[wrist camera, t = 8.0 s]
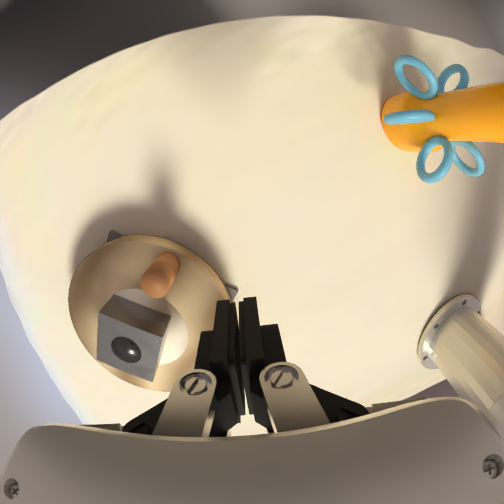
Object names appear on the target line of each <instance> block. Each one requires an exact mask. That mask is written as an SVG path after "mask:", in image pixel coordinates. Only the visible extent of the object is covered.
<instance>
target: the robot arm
mask: <svg viewBox="0 0 504 504" xmlns="http://www.w3.org/2000/svg"><path fill="white" fill-rule="evenodd" d="M243 300H244V301H241V302H239V325H238V319H237V312H236V305H235V302H232V303H230V299H228V300H218V301H217V303H216V311H215V319H214V326H213V330H210V331H201V334H200V339H199V344H198V350H197V355H196V361H195V366H194V370H190V371H187V372H185V373H183V374H181V375H180V376H179V377H178V378H177V380H176V381H175V383H174V386H173V388H172V390H171V392H170V395H169V397H168V398H167V399H166V400H164V401H163V402H161V403H159V404H158V405H156V406H154V407H153V408H151V409H149V410H148V411H146V412H144V413H143V414H141V415H139V416H137V417H136V418H134V419H132V420H131V421H129V422H128V423H127V424H126V425H125V426H122V425H121V424H120V423H119V424H99V425H72V424H56V423H52V424H43V425H38V426H35V427H32V428H31V429H29V430H28V431H27V432H25V434H24V435H23V436H22V437H21V438H20V440H19V441H18V443H17V444H16V446H15V448H14V450H13V451H12V453H11V455H10V457H9V459H8V461H7V464H6V465H5V467H4V470H3V472H2V474H1V477H0V504H504V335H502V334H501V333H500V332H499V331H498V330H497V329H496V328H494V327H493V326H492V325H491V324H490V323H489V322H487V321H486V320H485V319H484V318H483V317H482V316H481V306H480V303H479V301H478V300H477V299H476V298H475V297H473V296H472V295H469V294H463V295H459V296H457V297H455V298H453V299H451V300H450V301H449V302H447V303H446V304H445V305H444V306H443V307H442V308H441V309H439V311H438V312H437V313H436V314H435V315H434V316H433V318H432V319H431V320H430V322H429V323H428V325H427V327H426V328H425V330H424V332H423V334H422V336H421V339H420V342H419V345H418V359H419V361H420V362H421V364H422V365H423V366H424V367H425V368H427V369H437V368H439V369H440V371H441V372H442V373H443V375H444V376H445V377H446V378H447V380H448V381H449V382H450V383H451V385H452V386H453V388H454V389H455V390H456V392H457V393H458V394H459V396H460V397H461V398H457V397H439V398H431V399H426V398H416V399H410V400H403V401H396V402H388V403H379V404H372V405H371V407H366V408H365V407H364V406H362V405H361V404H359V403H356V402H354V401H351V400H348V399H346V398H343V397H340V396H338V395H335V394H333V393H330V392H328V391H326V390H323V389H321V388H318V387H316V386H314V385H311V384H309V382H308V381H307V379H306V377H305V375H304V373H303V371H302V370H301V369H300V367H298V366H297V365H295V364H292V363H289V362H286V358H285V353H284V349H283V345H282V340H281V336H280V332H279V328H278V324H271V325H263V326H260V323H259V316H258V308H257V301H256V297H248V298H243ZM244 387H245V393H246V398H247V403H248V409H249V414H254V417H255V422H257V423H259V424H260V425H262V426H264V427H265V428H266V433H267V434H260V435H249V436H233V437H231V428H232V427H233V426H234V425H236V424H237V423H241V422H240V415H245V393H244Z"/></svg>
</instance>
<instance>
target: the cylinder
mask: <svg viewBox="0 0 504 504" xmlns="http://www.w3.org/2000/svg"><path fill="white" fill-rule="evenodd" d="M405 64H409V65H412V66H414V67H416V68H417V69H419V70H420V71H421V72H422V73H423V74H424V75H425V77H426V78H427V80H428V82H429V86H430V88H429V90H425V89H417V88H416V87H414V86H413V85H412V84H411V83H410V82H409V81H408V80H407V78H406V77H405V75H404V73H403V66H404V65H405ZM394 72H395V75H396V77H397V79H398V80H399V82H400V83H401V85H402V86H403V87H404V88H405V89H406V90H407V91H406V92H403V93H400V94H398V95H395V96H392V97H391V98H389V99H388V100H387V101H386V103H385V104H384V106H383V109H382V117H381V120H382V125H383V129H384V131H385V133H386V135H387V137H388V138H389V140H390V141H391V142H392V143H393V144H394V145H395V146H397V147H398V148H400V149H402V150H404V151H411V152H419V155H418V158H417V163H416V169H417V173H418V176H419V177H420V179H421V180H422V181H424V182H426V183H434V182H437V181H439V180H440V179H442V178H443V177H444V176H445V175H446V173H447V172H448V171H449V169H450V167H451V164H452V161H453V162H454V163H455V165H456V166H457V167H458V168H459V169H460V170H462V171H463V172H464V173H466V174H468V175H470V176H473V177H478V176H480V175H482V174H483V172H484V170H485V162H484V159H483V156H482V154H481V152H480V151H479V150H478V148H477V147H476V146H475V145H474V144H473V143H472V142H471V141H475V142H496V143H504V82H500V83H493V84H487V85H481V86H475V87H470V88H467V86H468V82H469V76H468V72H467V70H466V69H465V68H464V67H463V66H461V65H459V64H453V65H450V66H449V67H447V68H446V69H445V70H444V71H443V72H442V73H441V75H440V76H439V78H438V81H437V79H436V77H435V75H434V73H433V72H432V71H431V69H430V68H429V67H428V66H427V65H426V64H425V63H423V62H422V61H421V60H419V59H417V58H415V57H413V56H409V55H402V56H399V57H398V58H396V60H395V62H394ZM456 72H459V73H460V75H461V78H460V82H459V84H458V85H457V87H456V88H455V89H454V90H453V91H449V92H444V86H445V83H446V81H447V79H448V78H449V77H450V76H451V75H452V74H454V73H456ZM455 145H461V146H464V147H465V148H467V149H468V150H469V151H470V152H471V153H472V154H473V156H474V157H475V159H476V162H477V167H476V168H471V167H469V166H467V165H466V164H465V163H463V162H462V161H461V159H460V158H459V157H458V155H457V154H456V151H455ZM442 148H444V157H443V160H442V163H441V164H440V166H439V167H438V168H437V169H436V170H435V171H434V172H432V173H427V172H426V171H425V161H426V158H427V156H428V154H429V152H434V151H438V150H440V149H442Z"/></svg>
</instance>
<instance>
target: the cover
mask: <svg viewBox="0 0 504 504" xmlns="http://www.w3.org/2000/svg"><path fill="white" fill-rule="evenodd" d="M171 317H172V316H170V315H168V314H165V313H162V312H159V311H157V310H154V309H151V308H148V307H146V306H143V305H141V304H138V303H135V302H133V301H130V300H128V299H125V298H123V297H120V296H118V295H116V294H113V296H112V297H111V298H110V299H109V300H108V301H107V303H106V304H105V305H104V306H103V307H102V309H101V310H100V311H99V312H98V327H97V356H96V360H98V361H100V362H103V363H105V364H107V365H109V366H112V367H114V368H116V369H119V370H121V371H124V372H126V373H129V374H131V375H134V376H137V377H139V378H142V379H145V380H147V381H150V382H153V380H154V377H155V374H156V371H157V369H158V366H159V363H160V360H161V356H162V352H163V348H164V344H165V340H166V336H167V332H168V328H169V324H170V321H171Z"/></svg>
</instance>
